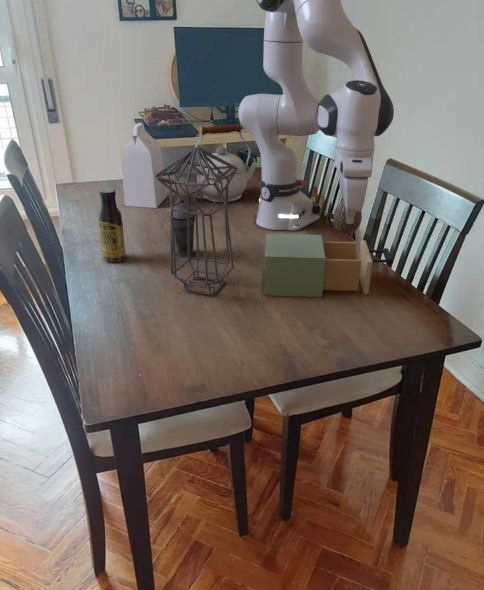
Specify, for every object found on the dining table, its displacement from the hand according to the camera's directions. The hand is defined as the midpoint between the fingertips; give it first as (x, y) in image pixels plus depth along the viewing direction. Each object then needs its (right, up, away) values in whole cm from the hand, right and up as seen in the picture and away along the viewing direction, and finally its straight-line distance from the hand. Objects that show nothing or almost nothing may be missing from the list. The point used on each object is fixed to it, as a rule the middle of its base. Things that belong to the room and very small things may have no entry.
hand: (347, 216), depth 135 cm
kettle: (-35, +24, +69) cm, 81 cm away
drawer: (+2, -15, +10) cm, 18 cm away
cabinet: (-13, -15, +11) cm, 23 cm away
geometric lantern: (-36, -17, +8) cm, 41 cm away
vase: (0, -3, +2) cm, 4 cm away
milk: (-64, +20, +62) cm, 91 cm away
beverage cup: (-44, -5, +25) cm, 51 cm away
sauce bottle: (-63, -7, +21) cm, 67 cm away
